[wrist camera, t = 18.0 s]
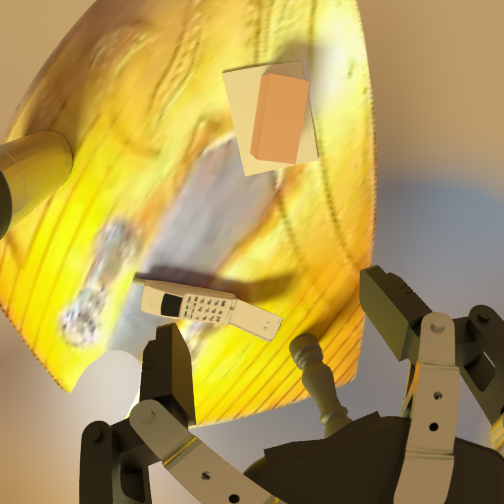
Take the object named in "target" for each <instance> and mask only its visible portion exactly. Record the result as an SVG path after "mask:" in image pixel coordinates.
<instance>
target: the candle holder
mask: <svg viewBox="0 0 504 504" xmlns="http://www.w3.org/2000/svg"><path fill="white" fill-rule="evenodd" d="M289 350H290V353H291V355H292V358H293V360H294V362H295V363H296V365H297V367H298V368H299V369H301V370H303V375H302V383H303V385H304V387H305V388H306V389H307V391H308V392H309V393H310V394H311V396H312V397H313V398H314V400H315V401H316V402H317V405H318V407H319V409H320V412H321V417H320V422H321V424H323V425H326V426H325V436H324V437H325V438H327V437H329V436H330V435H332V434H334V433H335V432H337V431H338V430H340V429H341V428H343V427H344V426H346V425H347V424H349V423H350V422H352V420H351V419H349V418H348V417H347V413H348V410H347V408H346V407H343V406H341V404H340V402H339V400H338V397H337V395H336V389H335V383H334V377H333V373H332V371H331V369H330V367H329V366H327V365H325V364H324V363H323V362H322V360H323V354H322V350H321V347H320V345H319V343H318V341H317V339H316V337H315V336H314V335H312V334H304V335H300V336H298V337H296V338H295V339H294V340H293V341H292V342H291V343H290V345H289Z"/></svg>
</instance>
